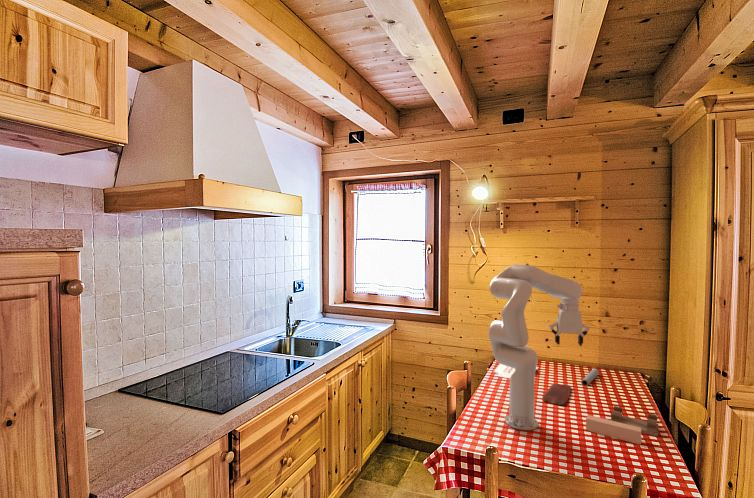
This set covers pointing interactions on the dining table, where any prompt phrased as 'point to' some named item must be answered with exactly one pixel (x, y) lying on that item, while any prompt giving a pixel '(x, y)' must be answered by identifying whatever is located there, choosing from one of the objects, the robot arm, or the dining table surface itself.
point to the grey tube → (590, 377)
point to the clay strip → (614, 429)
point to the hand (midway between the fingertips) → (568, 344)
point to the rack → (637, 421)
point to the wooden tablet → (557, 394)
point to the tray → (505, 371)
